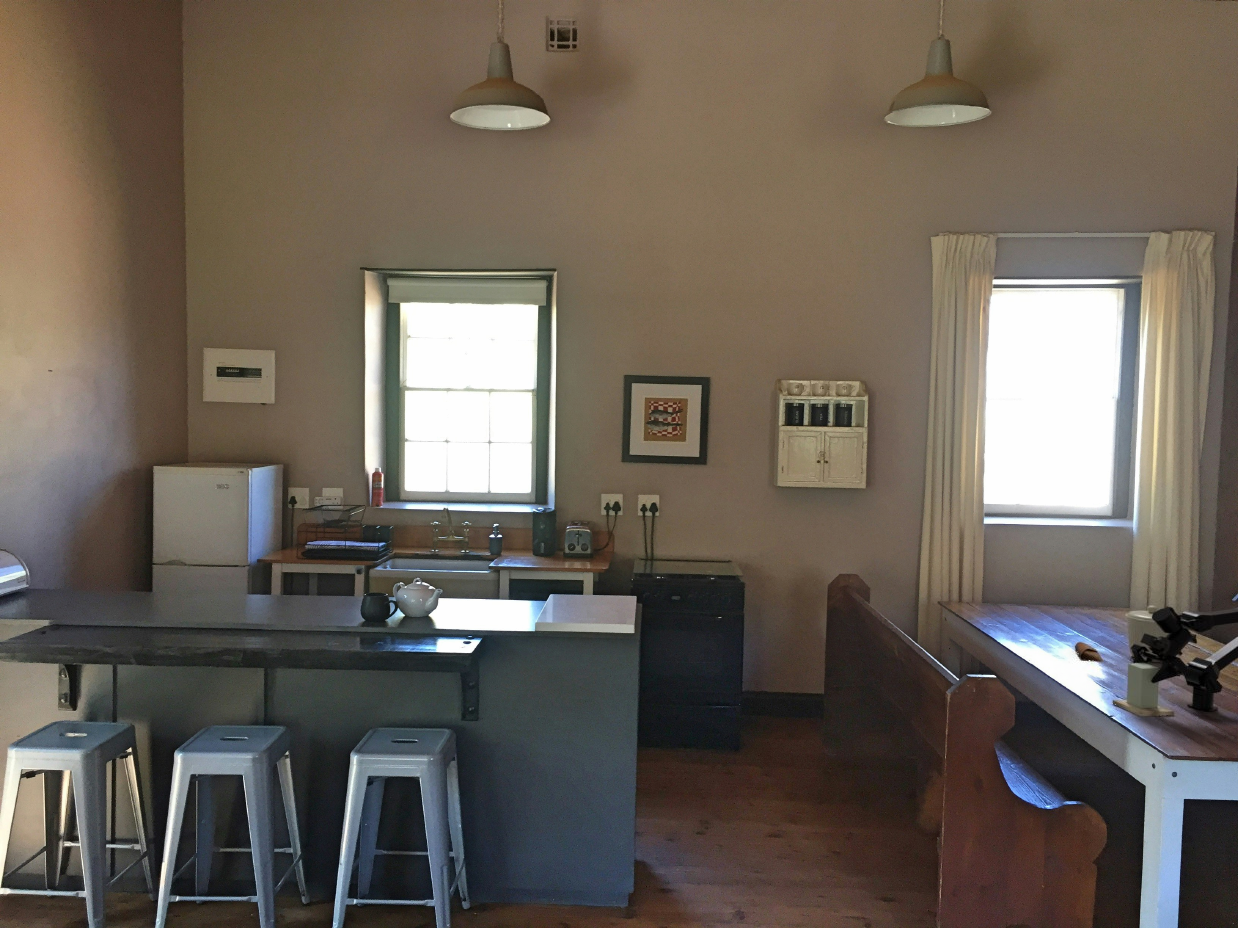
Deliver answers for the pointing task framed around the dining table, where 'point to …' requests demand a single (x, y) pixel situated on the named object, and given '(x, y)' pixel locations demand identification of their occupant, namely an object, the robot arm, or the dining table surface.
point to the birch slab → (1144, 709)
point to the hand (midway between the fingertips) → (1140, 678)
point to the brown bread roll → (1087, 652)
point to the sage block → (1142, 685)
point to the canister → (1142, 627)
